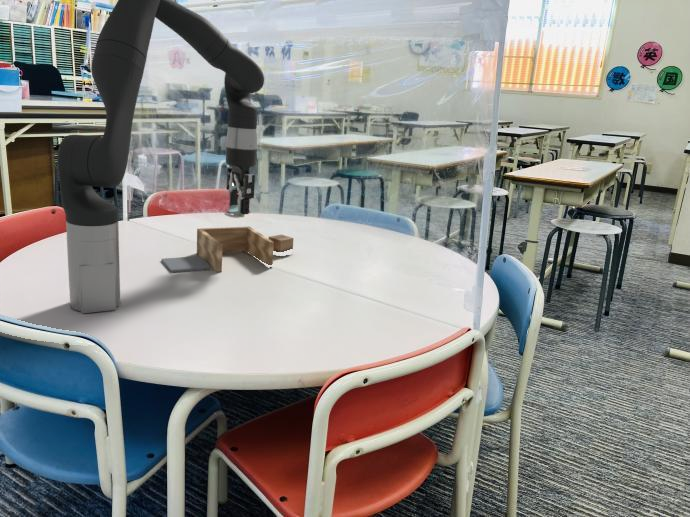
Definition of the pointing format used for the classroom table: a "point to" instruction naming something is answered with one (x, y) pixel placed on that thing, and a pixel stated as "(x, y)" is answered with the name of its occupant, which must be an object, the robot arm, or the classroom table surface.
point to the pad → (186, 264)
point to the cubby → (232, 244)
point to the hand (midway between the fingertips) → (238, 210)
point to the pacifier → (235, 210)
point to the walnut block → (282, 243)
